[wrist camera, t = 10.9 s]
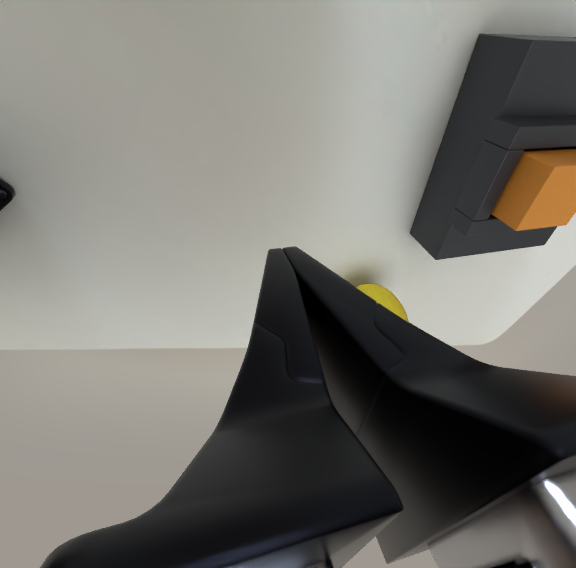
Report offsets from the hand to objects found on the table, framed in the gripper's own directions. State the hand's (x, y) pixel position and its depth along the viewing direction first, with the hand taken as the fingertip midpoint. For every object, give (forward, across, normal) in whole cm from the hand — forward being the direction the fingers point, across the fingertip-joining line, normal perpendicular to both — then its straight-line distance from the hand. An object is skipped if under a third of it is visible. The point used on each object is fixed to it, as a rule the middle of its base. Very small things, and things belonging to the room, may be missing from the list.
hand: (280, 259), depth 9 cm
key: (+7, -18, +2) cm, 20 cm away
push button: (+13, -21, +2) cm, 24 cm away
